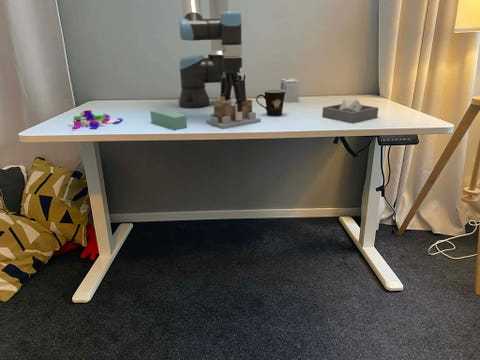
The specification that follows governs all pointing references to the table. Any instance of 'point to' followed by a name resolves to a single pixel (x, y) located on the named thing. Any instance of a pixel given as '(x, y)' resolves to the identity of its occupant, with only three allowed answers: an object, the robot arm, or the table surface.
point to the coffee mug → (273, 102)
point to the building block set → (88, 119)
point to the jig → (228, 123)
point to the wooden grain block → (230, 109)
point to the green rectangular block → (168, 119)
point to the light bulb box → (290, 89)
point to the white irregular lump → (350, 105)
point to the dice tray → (350, 114)
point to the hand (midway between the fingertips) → (233, 118)
